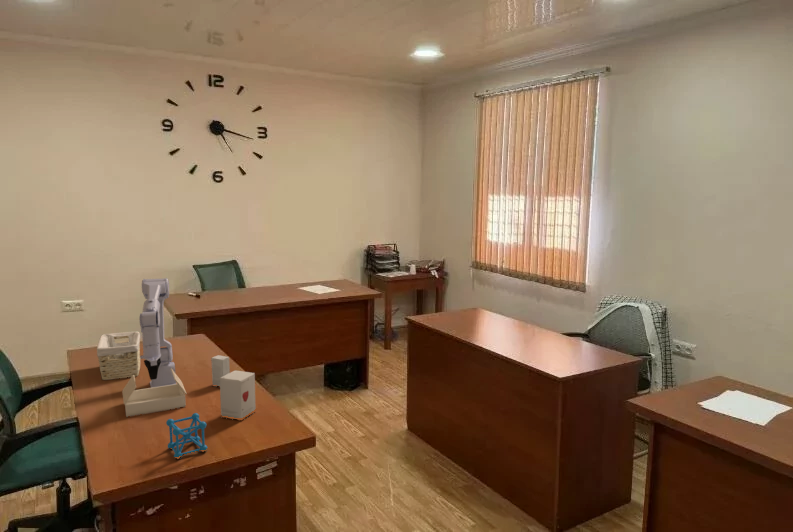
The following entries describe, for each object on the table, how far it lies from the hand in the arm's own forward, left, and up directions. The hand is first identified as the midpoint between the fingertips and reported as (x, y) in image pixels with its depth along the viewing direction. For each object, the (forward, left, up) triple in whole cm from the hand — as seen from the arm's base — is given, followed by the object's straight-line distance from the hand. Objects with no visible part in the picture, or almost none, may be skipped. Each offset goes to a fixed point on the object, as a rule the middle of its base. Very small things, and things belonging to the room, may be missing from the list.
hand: (153, 378), depth 208 cm
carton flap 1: (+8, 0, -3) cm, 9 cm away
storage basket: (+10, -48, -11) cm, 50 cm away
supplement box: (-26, +23, -10) cm, 36 cm away
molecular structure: (-6, +43, -11) cm, 45 cm away
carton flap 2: (-8, 0, -2) cm, 9 cm away
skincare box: (-26, -10, -10) cm, 30 cm away
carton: (0, 0, -10) cm, 10 cm away
